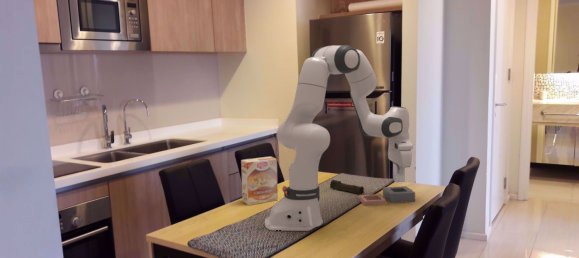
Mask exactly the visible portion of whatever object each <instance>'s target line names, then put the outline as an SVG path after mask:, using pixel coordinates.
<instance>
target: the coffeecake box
mask: <svg viewBox="0 0 579 258" xmlns="http://www.w3.org/2000/svg"><path fill="white" fill-rule="evenodd" d="M240 164H241V191H242V193H241V195H242V196H241V197H242V202H243V203H245V204H246V205H247V206H251V205H253V206H254V205H257V204H263V203H268V202H275V201H279V194H278V193H279V192H278V160H277V157H273V156H271V155H270V156H264V157H256V158H255V157H254V158H246V159H241V160H240Z"/></svg>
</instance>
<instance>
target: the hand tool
mask: <svg viewBox="0 0 579 258" xmlns="http://www.w3.org/2000/svg"><path fill="white" fill-rule="evenodd" d="M329 187H330V189H332V188H333V189H332V190H335V189H337V190H336V191H346V192H348V193H349V192H350V193H353V194H357V195H359V194H361V195H363V194H364V191H365V188H364V186H360V185H359V186H358V185H355V184H347V183H343V182H342V181H341V180H336V179H332V180H331V181H330V183H329ZM362 193H363V194H362Z"/></svg>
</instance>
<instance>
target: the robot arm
mask: <svg viewBox="0 0 579 258" xmlns="http://www.w3.org/2000/svg"><path fill="white" fill-rule="evenodd" d="M342 74H343V75H345V77H346V80H347V82H348V85H349V87H350V90H349V94H350V95H349V96H350V99H351V101H352V105H353V108H354V111H355V113H356V116H357V120H358V127H359V131H360V132H361V134H362V135H364V137H376V138H384V139H385V138H386V139H388V148H387V158H388V160H390V161H391V162H392V164H393V163H396V164H398V165H399V170H398V172H399V173H398V174H399V175H403V171H404V168H405V169H406V168H410V167H411V166H412V152H413V151H412V150H413V149H414V146H413V143H412V142H411V139H410V133H409V130H410V113H409V110H408V108H407V107H403V106H396V105H395V106H394V105H393V106H391V107H390V109H389V110H388V111H387V112H386V113H384V114H375V113H373V112H372V111H371V110H370V107H369V103H368V100H367V96H369V95H370V94H372V93H373V92H374V91H375V89H376V87H377V86H378V79H377V76H376V73H375V71H374V69H373V66H372V65H371V63H370V60H368V58H367V57H366V55H365V54H364V52H362V50H360V49H356V48H355V47H353V46H351V45H347V44H345V45H344V44H343V45H335V44H333V45H327V46H322V47H319V48H316V49H315V50H314V51H313V52H312V54H311V56H310V57H308V58H306V59H305V60H304V61H303V64H302V67H301V70H300V72H299V76H298V80H297V84H296V85H297V86H296V91H295V95H294V99H293V100H294V101H293V103H292V106H291V109H290V111H289V113H288V115H287V117H286V119H285V121H283V122H282V123H281V124H280V125H279V126H278V129H277V130H276V137H277V141H278V142H279V144H281V145H282V146H284V147H285V148H286V149H289V150H295V157H294V160H293V162H291V164H290V165H289V167H288V185H289V186H285V185H283V186H282V190H281V191H282V192H283V195H284V196H283V197H281V199H279V200H277V202H275V203H274V204H273V206H272V207H271V210H270V213H269V216H268V217H266V218H265V219H264V226H265V228H266V229H267V230H269V231H276V230H278V231H279V230H281V232H282V231H286V232H287V231H288V232H289V231H293V232H294V231H295V232H297V231H298V232H299V231H301V232H305V231H306V232H309V231H311V230H313V229H315V228H316V227H320V226H321V225H323V223H324V220H323V217H322V213H321V212H322V211H321V208H320V198H321V196H320V186H319V165H320V160H321V158H322V156H323V154H324V153H325V151H326V150H327V149H328V148H329V146H330V143H331V135H330V133H329V131H328V129H327V128H325V127H324V126H322V125H319V124H317V123H313V121H314V120H315V117H316V116H317V115H318V113H319V114H320V112H321V111H322V110H323V108H324V104H325V103H324V101H325V98H326V93H327V92H326V90H327V87H328V79H329V77H330V75H342ZM278 231H277V232H278Z"/></svg>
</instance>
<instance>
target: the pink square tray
mask: <svg viewBox="0 0 579 258" xmlns="http://www.w3.org/2000/svg"><path fill="white" fill-rule="evenodd" d="M358 200H359V201H360V202H361V203H362V205H363V206H364V207H369V206H386V205H387V199H386V198H385V197H384V196H383V195H381V194H379V193H377V194H361V195H359V194H358Z"/></svg>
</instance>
